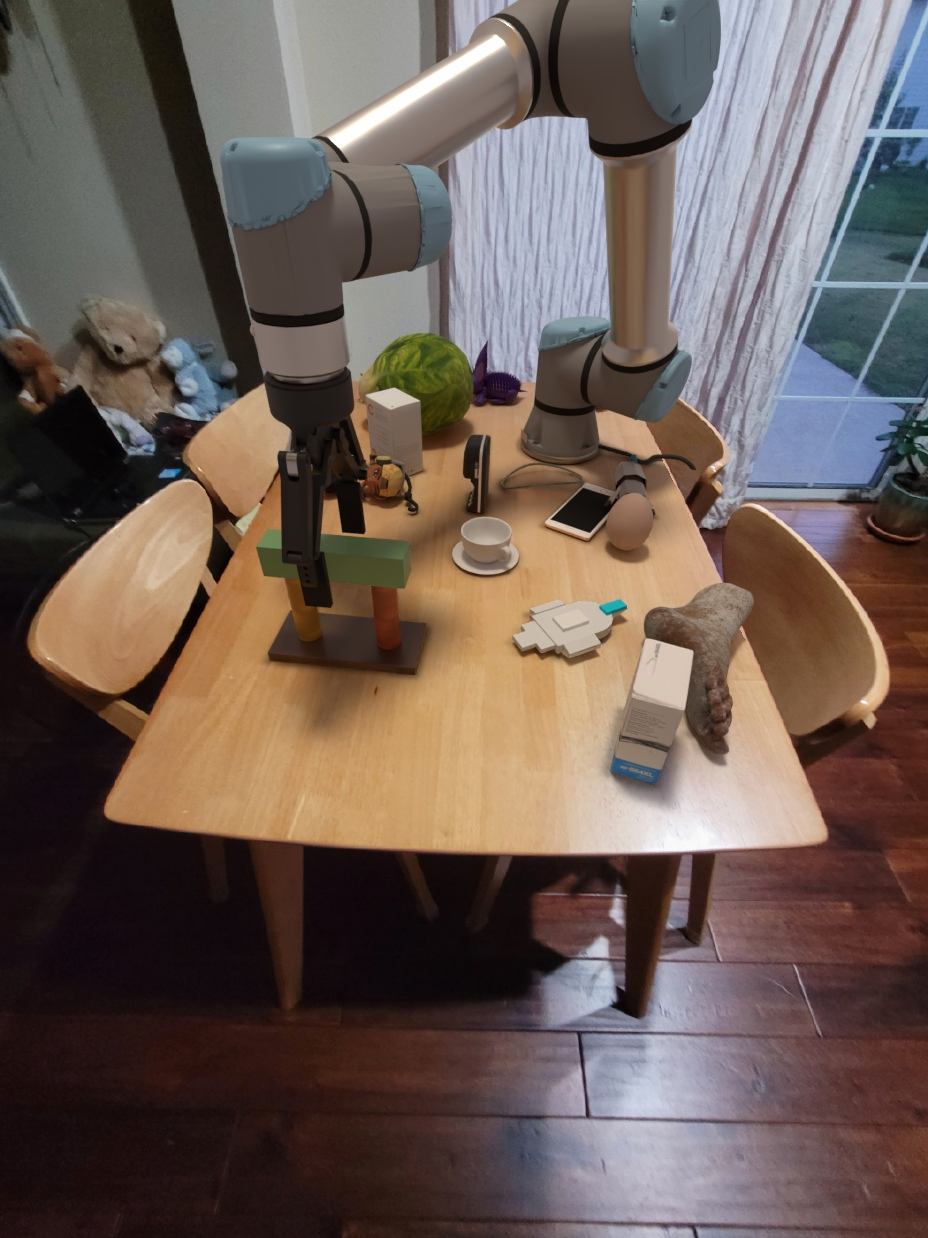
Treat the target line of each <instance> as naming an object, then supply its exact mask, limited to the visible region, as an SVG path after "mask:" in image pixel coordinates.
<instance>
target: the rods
mask: <svg viewBox="0 0 928 1238" xmlns="http://www.w3.org/2000/svg"><path fill="white" fill-rule="evenodd" d="M283 580H284V584H285V588H286V592H287V596H288V600H289V604H290V608H291V609H290V610H289V612H288V613H287V615H286V617H285V619H284V621H283V623H282V625H281V627H280V629H279V630H278V633H277V634H276V637H275V638H274V640H273V642H272V644H271V645H270V648H269V649H268V651H267V656H268V659H269V660H270V661H278V662H287V663H297V664H307V665H316V666H317V665H319V666H326V667H327V666H328V667H337V668H346V669H358V670H367V671H377V672H387V673H395V674H396V673H397V674H405V675H417V670H418V666H419V662H420V659H421V654H422V651H423V647H424V642H425V638H426V634H427V630H428V626H427V625H428V624H427V622H424V621H423V622H422V621H421V622H420V621H411V620H401V619H400V608H399V607H400V606H399V593H398V592H399V591H398V588H388V587H377V586H369V587H370V596H371V604H372V613H373V617H370V616H369V617H368V616H359V615H350V614H338V613H337V614H336V613H327V612H319V607H312V606H305V602H304V597H303V593H302V588H301V584H300V579H290V578H283Z"/></svg>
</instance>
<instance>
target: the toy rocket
mask: <svg viewBox="0 0 928 1238" xmlns="http://www.w3.org/2000/svg"><path fill="white" fill-rule="evenodd" d="M628 609H629V607H628V604H626V603H625V602H624V601H623V600H622V599H621V598H617V599H615V600H612V601H609V602H606V603H603V604H600V603H598V602H595V601H590V600H579V601H573V602H571V603H568V604H566V603H565V602H563V601H562V600H561V599H559V598H558V599H554V600H552V601H548V602H545V603H542V604H539V605H536V606H532V607H529V612H528V615H530V617H531V620H530V621H529V622H526V623H523V624H520V630H521V631H522V632H521V631H520V632H517V633H515V634H512V636H511V637H512V639H511V640H512V641H513V642H514V643H515V644H516V646H517V647H518V648H519V650H520V651H521V652H525V651H529V650H532V649H535V648H536V649H537V651H539V653H540V654H543V653H546V652H550V651H554V652H555V653H556V654H562V655H563V656H565V657H566V658H568V659H572V658H575V657H578V656H581V655H583V654H586V653H589V652H592V651H594V650H597V649H600V648H601V644H602V642H601V641H600V640H601V639H603V638H604V637H606V636H608V635H609V634H610V632H611V630H612V625H613V620H614V619H615V618H617V617H618V616H619V615H621V614H623V613H624V612H625V611H627V610H628Z"/></svg>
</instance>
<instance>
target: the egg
mask: <svg viewBox="0 0 928 1238" xmlns="http://www.w3.org/2000/svg"><path fill="white" fill-rule="evenodd" d="M652 509H653V508H651V506H650V503H649V501H648V500H647V499H646V498H645V497H644V496H642V495H641V494H638V493H630V494H627V495H624V496H623V497H621V498H620V499H619V500H618V501H617V502H616V503H615V504H614V506H613V507H612V509H611V510H610V512H609V515H608V518H607V520H606V522H605V531H606V535H607V538H608V540H609V541H610V543H611V544H612V545H613V546H614V547H615V548H617V549H618V550H621V551H632V550H635V549H637V548H639V547H640V546H642V545H643V544H644V543H645V542H647V540H648V539H649V538H650V534H651V533H652V529H653V525H654V516H653V513H652Z"/></svg>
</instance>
